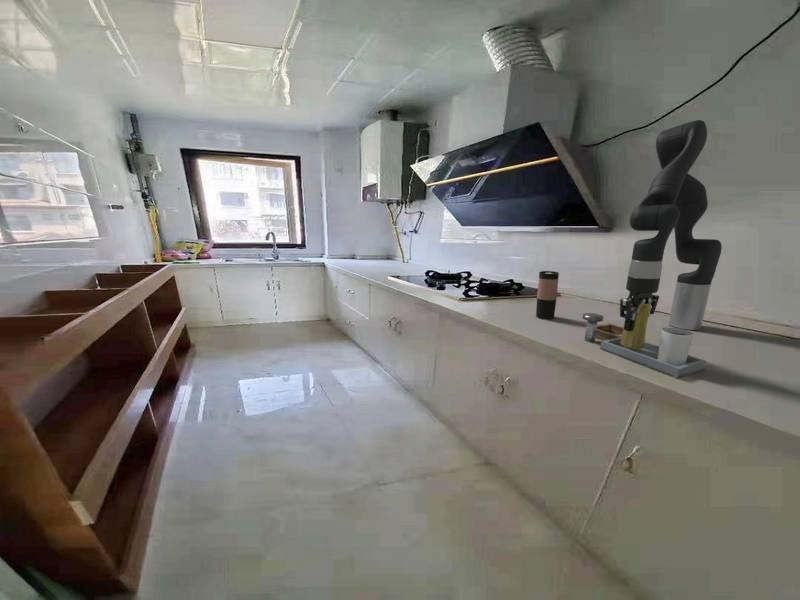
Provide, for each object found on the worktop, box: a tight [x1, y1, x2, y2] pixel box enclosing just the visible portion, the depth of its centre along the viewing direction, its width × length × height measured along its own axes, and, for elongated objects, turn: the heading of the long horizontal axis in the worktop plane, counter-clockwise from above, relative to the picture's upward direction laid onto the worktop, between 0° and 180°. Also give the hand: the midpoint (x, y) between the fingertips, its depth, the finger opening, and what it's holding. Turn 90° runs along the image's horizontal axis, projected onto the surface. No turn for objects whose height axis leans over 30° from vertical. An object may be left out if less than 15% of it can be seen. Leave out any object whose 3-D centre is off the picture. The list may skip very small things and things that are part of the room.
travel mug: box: [535, 270, 560, 321], centre depth 129 cm, size 8×8×20 cm
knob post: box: [582, 312, 604, 343], centre depth 103 cm, size 6×6×9 cm
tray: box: [599, 337, 708, 380], centre depth 89 cm, size 12×21×3 cm, turn 20°
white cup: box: [657, 326, 694, 366], centre depth 83 cm, size 7×7×10 cm
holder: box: [595, 322, 624, 341], centre depth 106 cm, size 11×11×3 cm
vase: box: [620, 303, 650, 349], centre depth 92 cm, size 6×6×14 cm
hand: (634, 328), depth 92 cm, fingers closed on vase, 5 cm apart
